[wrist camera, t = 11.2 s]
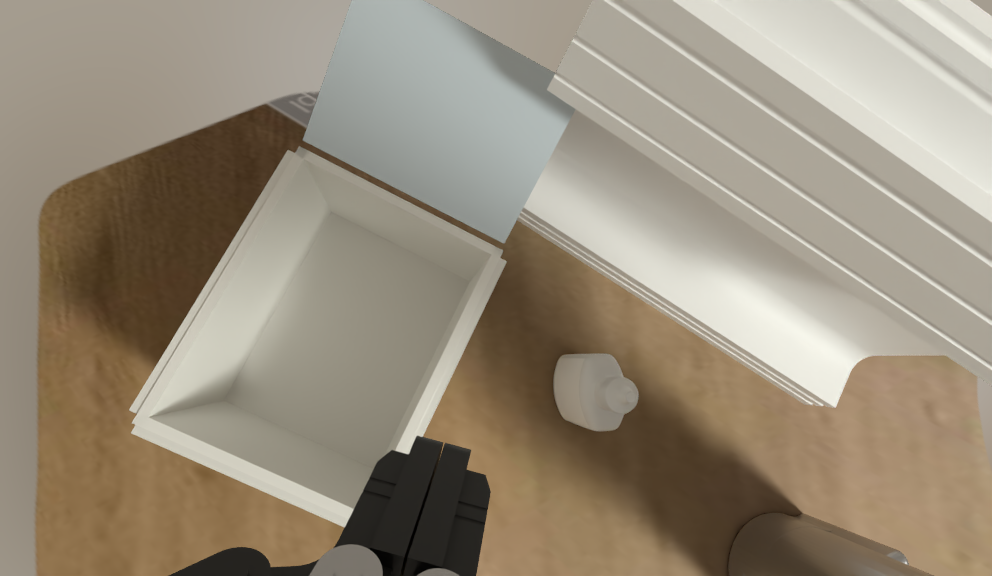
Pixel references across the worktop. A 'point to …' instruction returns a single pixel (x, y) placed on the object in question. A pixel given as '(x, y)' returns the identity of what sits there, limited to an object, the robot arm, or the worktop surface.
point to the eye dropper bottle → (593, 391)
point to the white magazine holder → (785, 177)
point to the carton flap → (438, 112)
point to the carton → (319, 338)
